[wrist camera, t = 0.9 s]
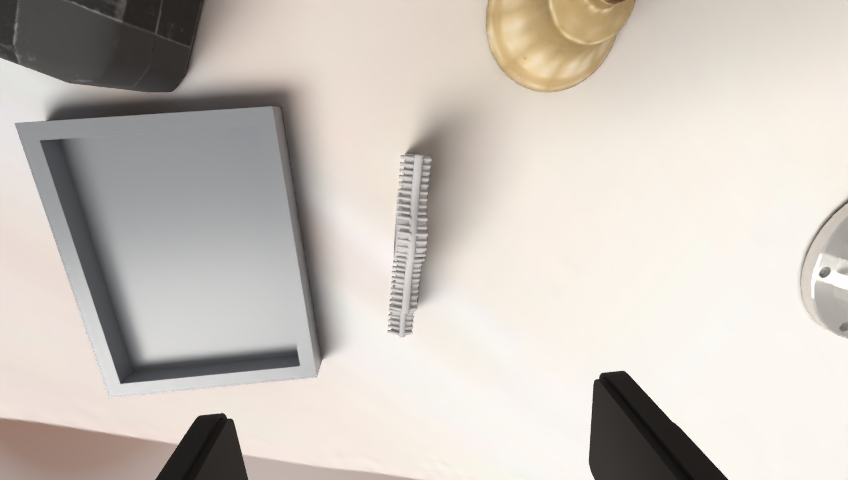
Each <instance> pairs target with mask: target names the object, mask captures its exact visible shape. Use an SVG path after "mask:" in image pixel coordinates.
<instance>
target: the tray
mask: <svg viewBox="0 0 848 480" xmlns="http://www.w3.org/2000/svg"><path fill="white" fill-rule="evenodd" d="M15 126H16V128H17V131H18V134H19V137H20V140H21V143H22V146H23V149H24V152H25V155H26V158H27V160H28V163H29V166H30V169H31V172H32V175H33V178H34V181H35V184H36V187H37V189H38V192H39V195H40V198H41V201H42V204H43V207H44V210H45V213H46V216H47V219H48V221H49V224H50V227H51V230H52V233H53V236H54V239H55V242H56V245H57V248H58V250H59V253H60V256H61V259H62V262H63V265H64V268H65V271H66V274H67V277H68V280H69V282H70V285H71V288H72V291H73V294H74V297H75V300H76V303H77V306H78V309H79V311H80V314H81V317H82V320H83V323H84V326H85V329H86V332H87V335H88V338H89V341H90V343H91V346H92V349H93V352H94V355H95V358H96V361H97V364H98V367H99V370H100V372H101V375H102V378H103V381H104V384H105V387H106V390H107V393H108V396H109V398H114V397H124V396H134V395H144V394H154V393H164V392H174V391H184V390H194V389H204V388H214V387H224V386H234V385H244V384H254V383H264V382H274V381H284V380H294V379H304V378H314V377H317V375H318V372H319V369H320V365H321V362H322V359H321V353H320V347H319V340H318V334H317V328H316V321H315V315H314V309H313V303H312V296H311V290H310V284H309V278H308V271H307V265H306V259H305V252H304V246H303V240H302V234H301V227H300V221H299V215H298V208H297V202H296V196H295V190H294V183H293V177H292V171H291V165H290V158H289V152H288V146H287V139H286V133H285V127H284V121H283V114H282V108H281V107H275V106H268V107H253V108H237V109H222V110H207V111H192V112H176V113H161V114H146V115H131V116H115V117H100V118H85V119H70V120H55V121H39V122H24V123H15Z"/></svg>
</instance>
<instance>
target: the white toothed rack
mask: <svg viewBox="0 0 848 480" xmlns="http://www.w3.org/2000/svg"><path fill="white" fill-rule="evenodd" d="M401 158H403V159H405V163H403V162H400V165H401V166H404V169H400V172H404V175H399V178H403V182H399V185H403V189H398V199H397V211H396V224H395V240H394V260H397V261H393V264H397V267H396V266H393V267H392V269H396V271H392V274H396V277H394V276H392V279H394V280H393V281H392V282H391V284H393V288H391V290H392V293H391V294H390V297H392V299H390V302H391V304H390V305H389V308H391V309H389V311H391V314H389V317H390V319H388V321H389V322H390V325H388V327H390V328H391V330H388V331H387V332H388V333H391V334H396V335H399V336H400V337H405V335H410V334H412V328H413V326H412V323H413V318H414V316H413V313H414V311H416V310H417V307H416V304H418V301H417V298H418V295H417V292H419V290H418V286H419V283H418V281H420V278H419V276H420V275H421V273H420V271H421V268H420V266H422V262H421V261H425V258H423V256H426V253H425V251H426V250H427V248H426V244H427V236H428V233H427V225H426V221H428V218H427V201H428V198H427V195H428V191H427V187H429V184H428V181H429V177H428V175H430V171H429V168H431V165H430V161H431V160H432V159H431V158H430V156H428V155H419V154H407V153H405V155H401Z"/></svg>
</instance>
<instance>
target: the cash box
mask: <svg viewBox="0 0 848 480" xmlns="http://www.w3.org/2000/svg"><path fill="white" fill-rule="evenodd" d="M202 1H203V0H0V58H3V59H6V60H8V61H11V62H14V63H16V64H19V65H22V66H24V67H27V68H30V69H33V70H36V71H38V72H41V73H44V74H46V75H49V76H52V77H54V78H57V79H60V80H62V81H65V82H68V83H73V84H82V85H91V86H99V87H108V88H117V89H125V90H134V91H143V92H172V91H173V90H174V89H175V88H176V86H177V85H178V84H179V83H180V81H181V80H182V79H183V78H184V76H185V74H186V70H187V66H188V61H189V57H190V53H191V48H192V44H193V40H194V36H195V31H196V27H197V23H198V18H199V14H200V9H201V5H202Z"/></svg>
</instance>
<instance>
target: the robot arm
mask: <svg viewBox="0 0 848 480" xmlns="http://www.w3.org/2000/svg"><path fill="white" fill-rule="evenodd" d="M801 291H802V298H803V302H804V304H805V307H806V309H807V312H808V313H809V314H810V316H811V317H812V318H813V320H814V321H815V322H817V323H818V324H819V325H820V326H822V327H823V328H825V329H827V330H829V331H831V332H833V333H835V334H837V335H839V336H842V337H845V338H848V203H847V204H846V205H844V206H843V207H842V208H841V209H840V210H839V211H837V212H836V213H835V214H834V215H833V216H832V217H831V218H830V220H829V221H828V222H827V223H826V224H825V225H824V226H823V228H822V229H821V230H820V232H819V234H818V235H817V237H816V238H815V240H814V241H813V243H812V245H811V247H810V249H809V252H808V254H807V256H806V259H805V263H804V266H803V270H802V279H801ZM589 465H590V469H591V472H592V475H593V477H594V479H595V480H728V479H727V478H726V477H725V476H724V475H723V473H722V472H721V471H720V470H719V469H718V468H717V467H716V466H715V465H714V464H713V463H712V462H711V461H710V460H709V458H708V457H707V456H706V455H705V454H704V453H703V452H702V451H701V450H700V449H699V448H698V447H697V446H696V445H695V443H694V442H693V441H692V440H691V439H690V438H689V437H688V436H687V435H686V434H685V433H684V432H683V431H682V429H681V428H680V427H678V426H677V425H676V424H675V423H673V422H672V421H671V420H670V419H669V418H668V417H667V416H666V414H665V413H664V412H663V411H662V410H661V409H660V408H659V407H658V406H657V405H656V404H655V403H654V402H653V400H652V399H651V398H650V397H649V396H648V395H647V394H646V393H645V392H644V391H643V390H642V389H641V387H640V386H639V385H638V384H637V383H636V382H635V381H634V380H633V379H632V378H631V377H630V376H629V375H628V374H627V373H626V372H625V371H616V372H607V373H602V374H601V375H600V377H599V379H596V380H595V381H594V386H593V403H592V419H591V435H590V451H589ZM156 480H248V477H247V473H246V469H245V465H244V461H243V457H242V453H241V449H240V445H239V441H238V437H237V433H236V429H235V425H234V421H233V420H232V419H227V417H226V415H225V414H223V413H220V414H211V415H201V416H199V417H197V418H196V419H195V421H194V422H193V424H192V425H191V427H190V428H189V430H188V431H187V433H186V434H185V436H184V437H183V439H182V440H181V442H180V443H179V445H178V446H177V448H176V450H175V451H174V453H173V454H172V455H171V457H170V459H169V460H168V462H167V463H166V465H165V466H164V468H163V469H162V471H161V472H160V474H159V475H158V477H157V478H156Z"/></svg>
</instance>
